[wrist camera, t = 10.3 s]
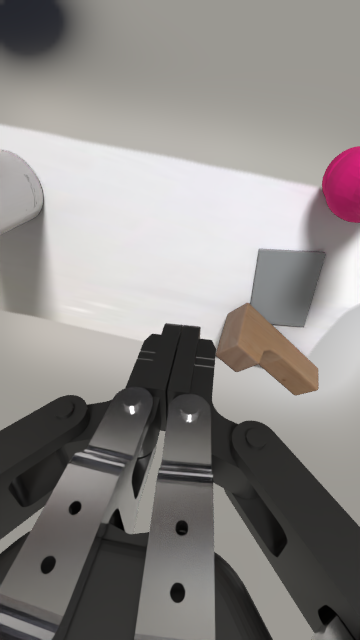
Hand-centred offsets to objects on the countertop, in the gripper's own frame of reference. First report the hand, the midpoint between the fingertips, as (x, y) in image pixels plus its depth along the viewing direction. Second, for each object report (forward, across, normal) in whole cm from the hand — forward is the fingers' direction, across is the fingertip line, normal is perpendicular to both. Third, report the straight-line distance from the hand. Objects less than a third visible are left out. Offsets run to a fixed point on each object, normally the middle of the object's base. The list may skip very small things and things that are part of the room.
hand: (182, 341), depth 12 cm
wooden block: (+25, -4, +17) cm, 30 cm away
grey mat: (+29, -11, +13) cm, 34 cm away
